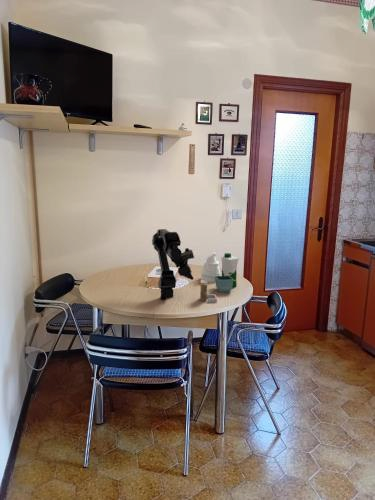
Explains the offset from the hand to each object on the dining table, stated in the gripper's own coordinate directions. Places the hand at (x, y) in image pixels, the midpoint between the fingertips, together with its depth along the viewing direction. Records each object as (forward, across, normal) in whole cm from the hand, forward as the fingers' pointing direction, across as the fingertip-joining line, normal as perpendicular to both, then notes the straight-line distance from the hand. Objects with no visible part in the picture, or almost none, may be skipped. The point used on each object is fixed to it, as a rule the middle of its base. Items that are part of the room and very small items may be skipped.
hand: (192, 275), depth 202 cm
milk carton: (+31, +26, -9) cm, 42 cm away
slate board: (+14, -2, +5) cm, 15 cm away
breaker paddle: (+14, -3, +3) cm, 15 cm away
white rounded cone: (+27, +41, -1) cm, 49 cm away
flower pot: (+26, +13, -6) cm, 29 cm away
